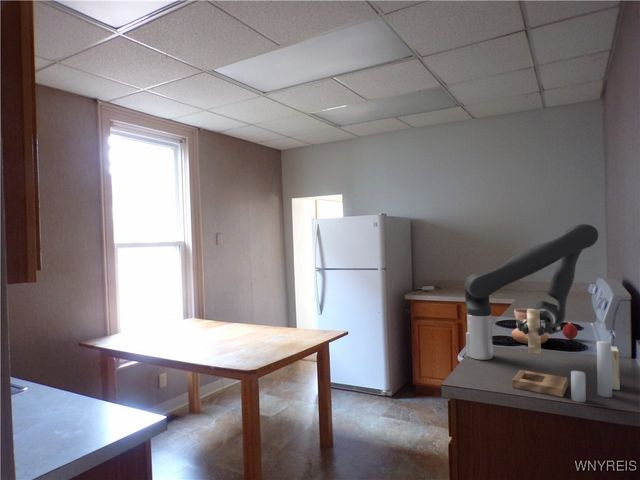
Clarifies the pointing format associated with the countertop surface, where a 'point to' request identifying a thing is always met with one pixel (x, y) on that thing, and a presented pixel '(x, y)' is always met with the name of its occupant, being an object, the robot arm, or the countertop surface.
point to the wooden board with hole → (540, 383)
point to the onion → (570, 331)
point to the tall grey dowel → (604, 368)
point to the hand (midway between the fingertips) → (532, 331)
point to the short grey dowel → (578, 386)
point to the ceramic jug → (519, 335)
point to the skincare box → (615, 368)
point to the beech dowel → (533, 331)
